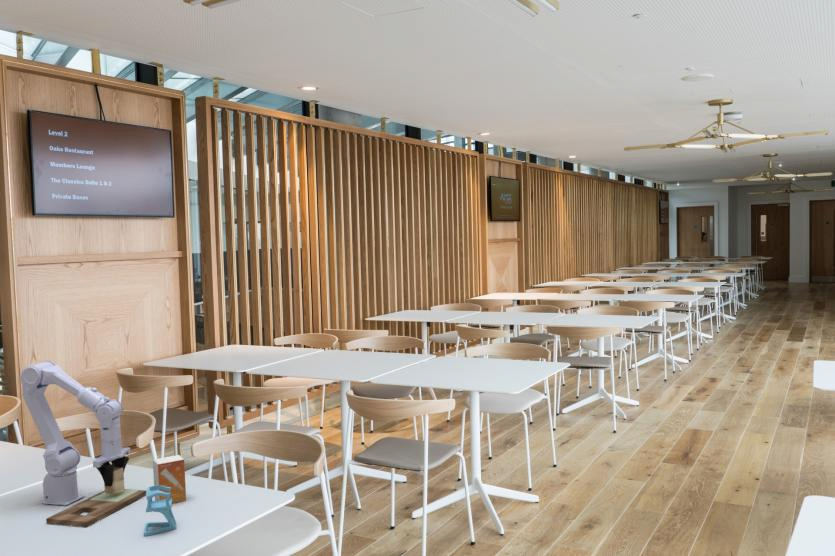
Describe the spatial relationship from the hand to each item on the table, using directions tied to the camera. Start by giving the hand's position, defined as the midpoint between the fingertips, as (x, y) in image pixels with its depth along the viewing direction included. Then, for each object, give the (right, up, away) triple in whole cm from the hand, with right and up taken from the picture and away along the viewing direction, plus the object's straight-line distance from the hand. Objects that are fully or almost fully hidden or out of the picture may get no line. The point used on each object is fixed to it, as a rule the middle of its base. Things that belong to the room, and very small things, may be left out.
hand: (113, 483), depth 223 cm
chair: (+23, -6, -24) cm, 34 cm away
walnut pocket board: (-2, -6, -6) cm, 9 cm away
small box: (+18, -5, -2) cm, 19 cm away
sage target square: (0, -4, 0) cm, 4 cm away
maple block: (0, -3, 0) cm, 3 cm away
